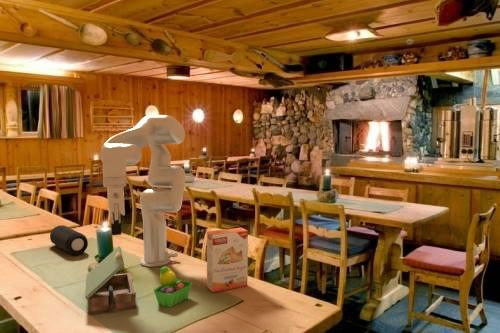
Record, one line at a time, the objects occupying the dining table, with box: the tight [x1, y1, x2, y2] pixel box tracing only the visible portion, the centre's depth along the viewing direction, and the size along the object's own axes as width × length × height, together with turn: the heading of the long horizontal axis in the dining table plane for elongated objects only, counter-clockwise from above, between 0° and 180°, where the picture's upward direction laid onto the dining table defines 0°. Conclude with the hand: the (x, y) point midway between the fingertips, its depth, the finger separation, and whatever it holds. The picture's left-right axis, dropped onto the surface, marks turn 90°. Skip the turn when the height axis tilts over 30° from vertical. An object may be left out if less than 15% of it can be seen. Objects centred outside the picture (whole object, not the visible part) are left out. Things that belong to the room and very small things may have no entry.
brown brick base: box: [87, 272, 137, 316], centre depth 141 cm, size 14×20×5 cm
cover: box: [84, 245, 125, 300], centre depth 140 cm, size 15×21×2 cm
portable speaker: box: [49, 225, 89, 256], centre depth 198 cm, size 26×10×10 cm, turn 43°
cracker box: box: [206, 227, 249, 293], centre depth 151 cm, size 14×6×21 cm, turn 117°
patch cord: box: [108, 284, 115, 310], centre depth 140 cm, size 1×20×1 cm, turn 20°
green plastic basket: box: [153, 266, 193, 308], centre depth 140 cm, size 11×9×11 cm
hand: (116, 234), depth 145 cm, fingers closed
